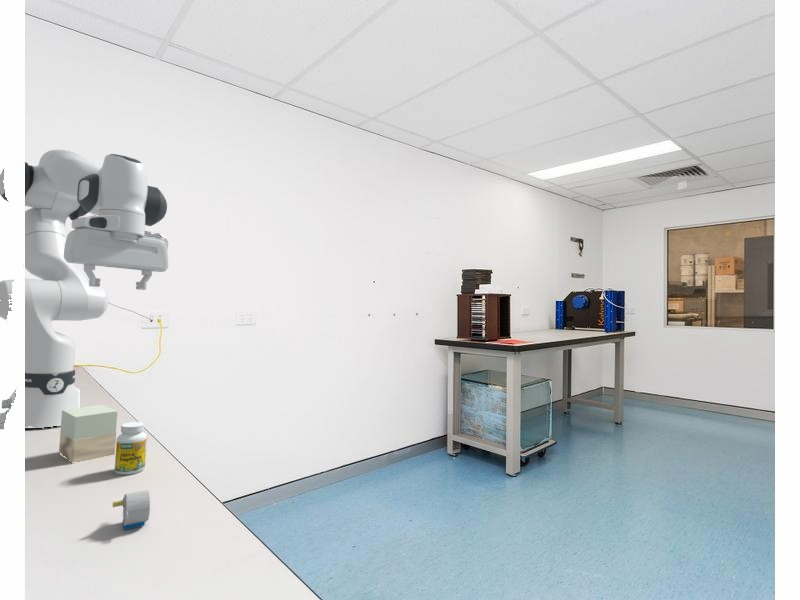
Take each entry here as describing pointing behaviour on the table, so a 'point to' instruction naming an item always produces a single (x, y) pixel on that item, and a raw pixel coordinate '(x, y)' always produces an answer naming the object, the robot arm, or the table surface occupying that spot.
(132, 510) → the electric motor
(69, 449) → the tower bottom block
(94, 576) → the table surface
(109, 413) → the tower top block
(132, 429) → the supplement bottle
